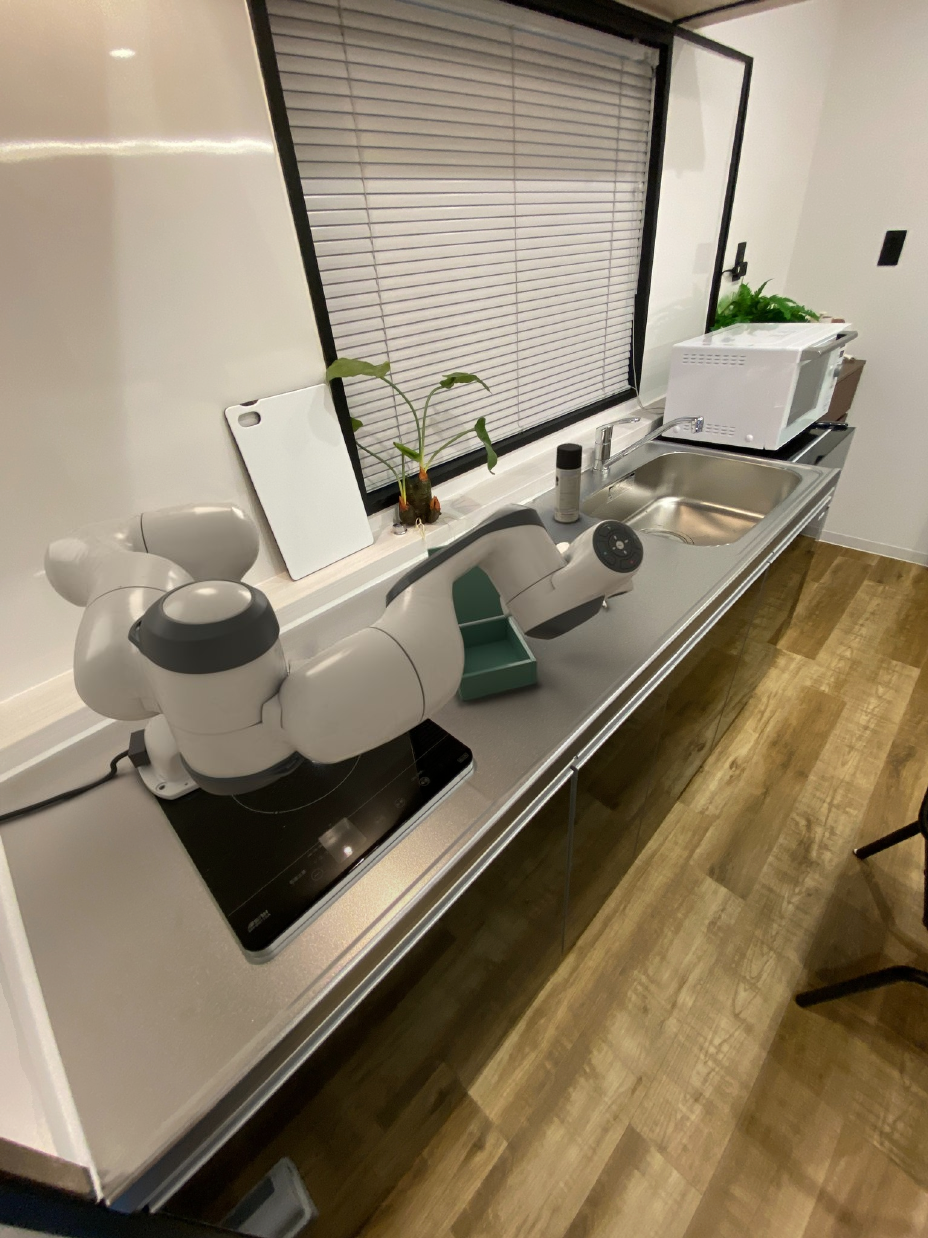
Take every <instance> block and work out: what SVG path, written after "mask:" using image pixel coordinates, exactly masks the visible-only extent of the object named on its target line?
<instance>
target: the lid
mask: <svg viewBox="0 0 928 1238" xmlns="http://www.w3.org/2000/svg"><path fill="white" fill-rule="evenodd" d="M446 545H447V544H444V545H439V546H434V547H429V548H426V551H427V558H428V557H430V556H431V555H433V554H434V553H436V552H437V551H439V550H440V549H442V548H443V547H445V546H446ZM452 597H453V604H454V609H455V614H456V618H457V622H458V625H459V626H461V625H465V624H470V623H475V622H479V621H484V620H488V619H493V618H498V617H502V616H505V615H504V614H503V611H502V607H501V603H500V597H501V596H500V594H499V593H498V591H497V590H496V588H495V586H494V585H493V583H492V582H491V580H490V578H489V577H488V576H487V574H486V573H485V572H484V571H483V570H482V569H481V568H479V567H478V566H475V567H474V568H472V569H471V570H470V571H468V572H467V573H466V574H464V575H463V576H461V577H460V578H459V579H457V580H456V581H455V582H453V585H452Z"/></svg>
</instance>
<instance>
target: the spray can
mask: <svg viewBox="0 0 928 1238" xmlns="http://www.w3.org/2000/svg"><path fill="white" fill-rule="evenodd" d="M582 459H583V445H581V444H579V443H578V444H577V443H572V442H566V443H561V444H559V445H557V447H556V457H555V480H554V481H555V482H554V483H555V485H554V520H555V521H556V522H558V523H563V524H569V523H573V522H576V521H577V520H578V519H579V517H580V516H579V515H580V500H581V499H580V498H581V497H580V496H581V479H582V466H583V460H582Z"/></svg>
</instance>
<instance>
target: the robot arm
mask: <svg viewBox="0 0 928 1238" xmlns="http://www.w3.org/2000/svg"><path fill="white" fill-rule="evenodd" d="M259 533H260V532H259V530H258V527H257V525H256V523H255V521H254V520H253V518H252V517H251V516H250V514H249V513H248V512H247V511H246V510H245V509H243V508H242V507H241V506H240V505H238V504H237V503H235V502H233V501H194V502H190V503H183V504H179V505H174V506H169V507H164V508H159V509H154V510H149V511H144V512H140V513H136V514H129V515H125V516H119V517H115V518H109V519H104V520H99V521H93V522H89V523H87V524H84V525H82V526H79V527H75V528H73V529H71V530H69V531H66V532H63V533H61V534H59V535H56V536H53V538H51V540H50V541H49V543H48V545H47V547H46V550H45V553H44V557H43V560H44V561H43V568H44V572H45V576H46V578H47V581H48V582H49V585H50V586H51V587H52V588H53V590H54V591H55V592H56V593H57V594H58V595H59V596H60V597H61V598H63V599H64V601H67V602H68V603H70V604H72V605H74V606H76V607H78V608H85V609H84V612H83V614H82V617H81V618H80V622H79V626H78V629H77V633H76V637H75V642H74V651H73V663H72V669H73V683H74V687H75V690H76V693H77V694H78V697H79V698H80V699H81V701H82V702H83V703H84V704H85V705H86V706H87V707H88V708H89V709H90V710H92V711H94V713H97V714H98V715H100V716H102V717H106V718H108V719H112V720H115V721H124V722H136V721H144V720H148V719H150V720H149V721H148V723H146V724H145V725H146V726H145V728H143V729H139V730H136V731H133V732H130V737H129V744H128V748H127V749H126V750H123V751H122V752H121V753H119V754H117V755H116V756H114V757H113V759H112V760H111V761H110V763H109V767H110V771H109V772H108V773H107V774H106V775H105V776H104V777H102V778H100V779H99V780H97V781H95V782H92V783H89V784H87V785H84V786H81V787H78V788H74V789H71V790H68V791H65V792H62V793H60V794H57V795H55V796H53V797H49V798H47V799H44V800H42V801H40V802H37V803H33V804H30V805H28V806H25V807H21V808H19V809H15V810H13V811H9V812H7V813H4V814H1V815H0V822H3V821H6V820H9V819H12V818H15V817H18V816H21V815H25V814H27V813H30V812H33V811H36V810H39V809H41V808H45V807H47V806H49V805H51V804H54V803H56V802H57V803H58V802H59V801H62V800H65V799H67V798H70V797H73V796H77V795H80V794H83V793H85V792H87V791H90V790H92V789H94V788H96V787H98V786H100V785H102V784H104V783H106V782H108V781H109V780H111V779H112V778H113V777H114V776H115V775H116V774H117V772H118V765H117V764H118V762H119V761H121V760H122V759H124V758H126V757H128V759H129V760H130V763H132V765H133V766H134V768H135V769H137V770H138V773H139V774H140V777H141V779H142V782H143V783H144V785H145V786H146V787H147V789H148V790H149V791H150V792H151V793H153V794H154V796H157V797H159V798H162V799H165V800H170V801H171V800H175V799H178V798H180V797H182V796H184V795H187V794H188V793H191V792H192V791H195V790H197V789H202V790H203V791H205V792H207V793H209V794H212V795H215V796H236V795H237V796H238V795H242V794H248V793H250V792H254V791H257V790H259V789H262V788H264V787H267V786H269V785H271V784H273V783H275V782H277V781H278V780H280V778H282V777H286V776H288V775H290V774H292V773H293V772H294V771H295V770H296V769H298V767H299V766H300V765H301V764H302V763H303V762H304V760H305V759H308V760H310V761H312V762H314V763H318V764H322V765H331V764H338V763H340V762H342V761H345V760H348V759H351V758H354V757H357V756H359V755H362V754H364V753H367V752H369V751H371V750H374V749H375V748H378V747H380V746H382V745H384V744H387V743H388V742H390V741H392V740H394V739H396V738H398V737H400V736H402V735H403V734H405V733H406V732H408V731H411V730H412V729H414V728H415V727H416V726H419V725H420V724H421V723H423V722H424V721H426V720H427V719H429V718H430V717H432V716H433V715H435V714H436V713H437V712H438V711H439V710H440V709H442V708H444V706H445V705H446V704H447V703H449V702H450V701H451V700H452V699H453V698H454V697H455V695H456V694H457V693H458V687H459V685H460V682H461V679H462V675H463V670H464V644H463V639H462V635H461V632H460V629H459V626H460V625H458V622H457V618H456V614H455V609H454V604H453V597H452V585H453V582H455V581H456V580H457V579H459V578H460V577H461V576H463V575H464V574H466V573H467V572H468V571H470V570H471V569H472V568H474V567H475V566H478V567H479V568H481V569H482V570H483V571H484V572H485V573H486V574H487V576H488V577H489V578H490V580H491V582H492V583H493V585H494V586H495V588H496V590H497V591H498V593H499V594H500V596H501V597H500V603H501V607H502V611H503V614H504V615H503V616H507V617H510V618H513V620H514V621H515V622H516V624H517V625H518V627H519V628H520V630H521V631H522V633H523V635H524V636H526V637H529V638H532V639H536V640H538V639H539V640H547V641H550V640H553V639H556V638H559V637H561V636H563V635H564V634H567V633H568V632H571V631H573V629H575V628H577V627H579V626H580V625H583V624H584V623H586V622H588V621H589V620H590V619H592V618H593V617H595V616H597V614H598V613H600V610H601V608H602V607H603V605H602V604H603V602H604V601H605V600H609V599H613V598H615V597H618V596H623V595H625V594H628V593H630V592H632V591H634V582H633V577H635V575H636V574H637V573H638V571H639V570H640V568H641V567H642V565H643V561H644V554H645V553H644V546H643V543H642V541H641V539H640V538H639V536H638V535H637V533H636V532H635V530H633V528H632V527H630V526H629V525H628V524H626V523H624V522H623V521H619V520H616V519H605V520H602V521H599V522H597V523H595V524H594V525H592V526H590V527H589V528H587V529H586V530H584V531H583V532H582V533H581V534H579V535H578V536H577V537H576V538H575V539H574V540H573V541H572V542H570V543H569V544H570V545H569V547H568V548H567V550H566V551H564V552H563V553H562V554H561V553H560V552H559V550H558V549H557V547H556V545H557V544H556V543H555V542H554V541H553V539H552V537H551V536H550V535H549V533H548V529H547V528H546V526H545V525H544V522H543V520H542V519H541V516H540V515H539V513H538V511H537V509H535V508H533V507H530V506H526V505H523V504H520V503H512V502H511V503H508V504H505V505H503V506H501V507H498V508H496V509H495V510H493V511H491V512H490V513H489V514H487V515H486V516H485V517H484V518H483V519H481V521H480V522H479V523H478V524H476V526H474V527H473V528H471V529H469V530H468V531H466V532H465V533H463V534H462V535H460V536H458V537H457V538H455V539H454V540H452V541H451V542H450V543H447V544H445V545H446V546H445V547H443V548H442V549H440V550H439V551H437V552H436V553H434V554H433V555H431V556H430V557H428V556H427V558H425V559H424V560H423V561H421V562H419V563H418V564H417V565H416V566H414V567H412V568H411V569H410V570H409V571H407V572H406V573H405V574H404V575H402V577H400V578H399V579H398V580H397V581H396V582H395V583H394V584H393V585H392V586H391V588H390V589H389V590H388V592H387V594H386V595H385V611H384V613H383V614H382V615H381V616H380V618H379V619H378V620H377V621H376V622H374V623H372V624H370V625H369V626H367V627H365V628H363V629H361V630H359V631H356V632H354V633H352V634H350V635H348V636H346V637H345V638H343V639H341V640H338V641H337V642H335V643H333V644H331V645H330V646H327V647H326V648H325V649H323V650H322V651H320V652H318V653H317V654H315V655H313V656H312V657H309V658H302V659H301V658H300V659H289V660H288V661H287V662H288V667H287V662H286V658H285V657H286V656H285V654H284V653H285V652H284V650H283V646H282V643H281V640H280V633H281V627H280V623H279V620H278V618H277V614H276V612H275V610H274V607H273V605H272V604H271V602H270V600H269V598H268V596H267V595H266V594H265V592H263V591H262V590H261V589H259V588H257V587H255V586H253V585H250V584H248V583H246V582H243V581H242V580H243V578H244V577H245V575H246V574H247V573H248V572H249V571H250V570H251V569H252V568H253V566H254V565H255V564H256V561H257V560H258V557H259V554H260V547H261V540H260V539H261V538H260V534H259Z"/></svg>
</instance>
